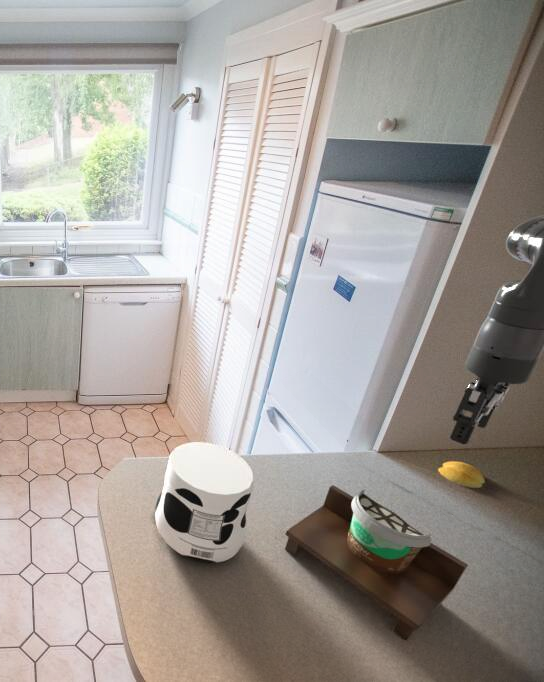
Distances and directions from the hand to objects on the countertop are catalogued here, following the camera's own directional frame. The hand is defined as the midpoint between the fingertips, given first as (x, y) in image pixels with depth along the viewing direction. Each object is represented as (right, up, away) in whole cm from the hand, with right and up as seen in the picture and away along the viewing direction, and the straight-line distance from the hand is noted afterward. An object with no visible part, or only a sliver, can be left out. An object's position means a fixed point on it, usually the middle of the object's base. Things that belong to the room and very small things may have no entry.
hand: (467, 433), depth 78 cm
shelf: (-14, -28, +7) cm, 32 cm away
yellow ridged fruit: (+27, -18, +31) cm, 45 cm away
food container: (-14, -24, +5) cm, 28 cm away
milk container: (-41, -25, +16) cm, 51 cm away
